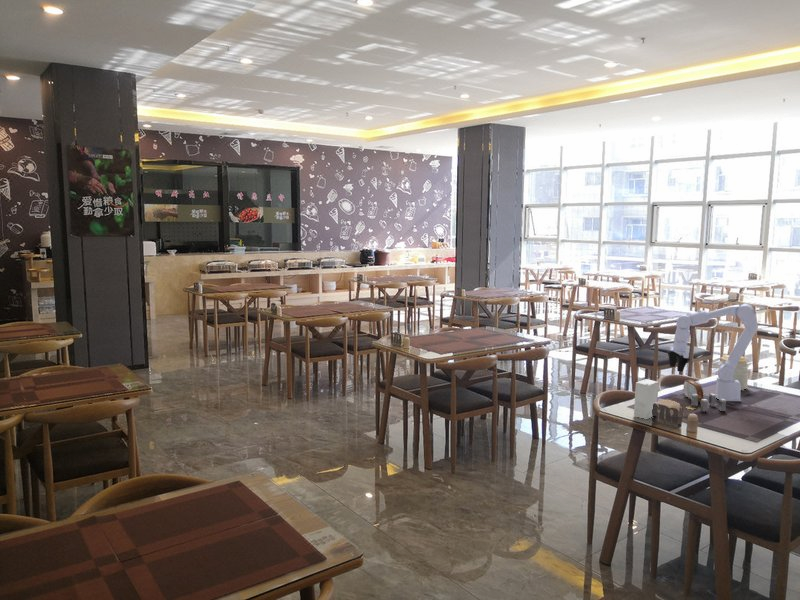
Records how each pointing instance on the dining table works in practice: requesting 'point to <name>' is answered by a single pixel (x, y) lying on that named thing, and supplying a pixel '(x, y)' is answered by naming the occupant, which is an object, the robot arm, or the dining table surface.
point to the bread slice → (693, 389)
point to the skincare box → (645, 398)
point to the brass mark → (691, 408)
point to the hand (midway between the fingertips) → (676, 368)
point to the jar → (739, 371)
